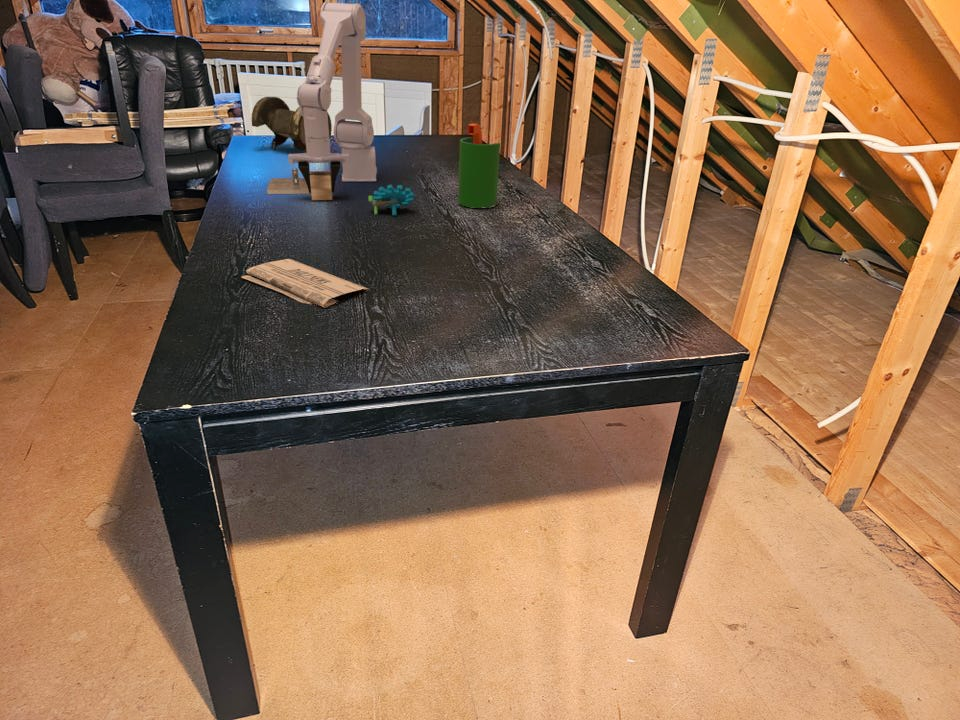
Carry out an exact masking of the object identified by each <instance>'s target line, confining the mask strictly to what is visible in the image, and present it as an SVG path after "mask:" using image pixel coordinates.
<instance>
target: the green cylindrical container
mask: <svg viewBox="0 0 960 720" xmlns="http://www.w3.org/2000/svg"><path fill="white" fill-rule="evenodd" d="M467 134H468V135H471V136H472V137H471V136H469V137H463V138H460V139H459V156H458V157H459V160H458V189H457V190H458V194H457V197H458V198H457V204H458V203H459V204H461V205H463V206H466V207H474V208H482V207H490V206H493V205H495V204H497V205H498V188H499V187H498V186H499V171H500V154H501V153H500V151H501V142H494V143H491V144H490V143H489V144H485V143H483V133H482V127H481V124H479V123H469V124H468V125H467ZM459 204H458V205H459ZM461 205H460V206H461ZM463 206H462V207H463ZM466 207H465V208H466Z"/></svg>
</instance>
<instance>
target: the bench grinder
mask: <svg viewBox="0 0 960 720" xmlns="http://www.w3.org/2000/svg"><path fill="white" fill-rule="evenodd" d="M327 114H328V128H329V141H330V140H331V136H332V130H333V129H332V119H331V116H330V114H329V112H328V111H327ZM251 126H252V127H254V128H255V127H256V128H258V127H261V126H266V127H267V128H268V129H269V130H270V131H271V132H272V133H273V134H274V138H272V141H271V143H270V150H272V151H276V149H277V147H279V146H281V145H283V144H284V143H286V142H287V141H288V139H290V140H291V141H292V142H293V145H292V147H293V148H295V149H299V150H304V151H305V152H304V153H307V150H306V139H305V129H304V118H303V116H302V115H301V111H300V107H299V106H298V107H297V108H296V110H291V109H290V107H289V105H288V104H287V103H286V101H285V100H283V99H282V98H280V97H279V96H278V97H277V96H264V97H262V98H260V99H259V100H257V102H256V103H255V105H254V106H253V108H252V113H251Z"/></svg>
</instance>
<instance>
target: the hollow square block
mask: <svg viewBox="0 0 960 720" xmlns="http://www.w3.org/2000/svg"><path fill="white" fill-rule="evenodd" d="M331 183H332V180H331V170H310V184H311V193H310V194H311V201H332V200H333V193H332V189H331Z"/></svg>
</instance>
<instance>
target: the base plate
mask: <svg viewBox="0 0 960 720" xmlns="http://www.w3.org/2000/svg"><path fill="white" fill-rule="evenodd" d="M266 194H267V195H285V194H286V195H287V194H288V195H289V194H290V195H291V194H292V195H293V194H297V195H300V194H304V195H307V194H309V195H310V194H311V193H309V190H308V187H307V184H306V181H305V179H304V177H299V168H298V167H297V168H296V167H293V168H292V169H291V177H289V178H288V177H284V178H283V177H281V178H280V177H279V178H276V177H275V178H271V177H270V181H269V183H268V187H267V189H266Z"/></svg>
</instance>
